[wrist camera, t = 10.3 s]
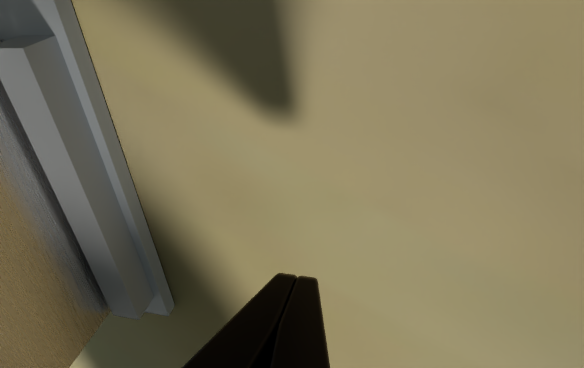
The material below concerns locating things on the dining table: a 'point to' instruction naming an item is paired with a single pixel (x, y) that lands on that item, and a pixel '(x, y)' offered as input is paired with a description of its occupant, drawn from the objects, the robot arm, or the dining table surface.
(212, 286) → the dining table surface
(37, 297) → the block
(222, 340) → the robot arm
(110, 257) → the vise body
